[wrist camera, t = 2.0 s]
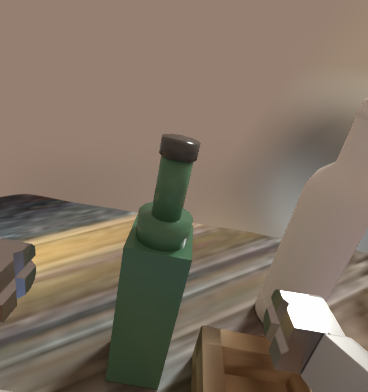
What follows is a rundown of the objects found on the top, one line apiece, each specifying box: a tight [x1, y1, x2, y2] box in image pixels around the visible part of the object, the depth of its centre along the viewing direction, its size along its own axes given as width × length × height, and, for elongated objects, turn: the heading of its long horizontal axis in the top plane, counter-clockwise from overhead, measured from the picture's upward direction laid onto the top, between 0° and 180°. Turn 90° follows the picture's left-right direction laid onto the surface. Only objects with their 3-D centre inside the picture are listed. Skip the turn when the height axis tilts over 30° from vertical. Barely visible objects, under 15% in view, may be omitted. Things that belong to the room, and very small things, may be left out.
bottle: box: [255, 98, 368, 323], centre depth 33 cm, size 8×8×30 cm
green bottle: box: [105, 134, 200, 390], centre depth 24 cm, size 5×5×24 cm
